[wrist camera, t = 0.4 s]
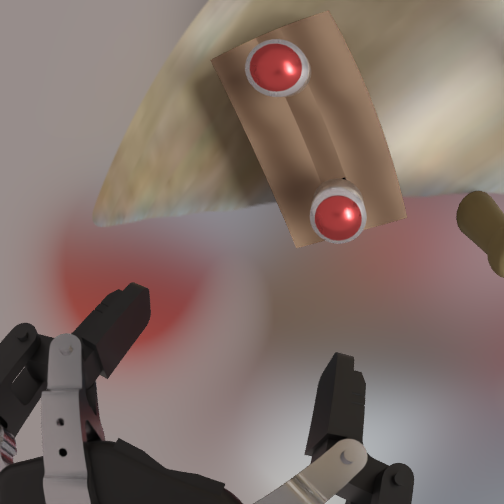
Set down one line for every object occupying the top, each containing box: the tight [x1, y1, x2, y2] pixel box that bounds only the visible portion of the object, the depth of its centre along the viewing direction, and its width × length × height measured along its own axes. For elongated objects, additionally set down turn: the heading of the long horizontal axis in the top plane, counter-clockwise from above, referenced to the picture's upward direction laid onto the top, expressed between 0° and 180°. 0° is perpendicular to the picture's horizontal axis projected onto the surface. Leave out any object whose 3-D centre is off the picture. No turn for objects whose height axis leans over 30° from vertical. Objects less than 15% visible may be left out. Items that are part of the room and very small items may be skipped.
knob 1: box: [245, 39, 311, 97], centre depth 20 cm, size 4×4×7 cm
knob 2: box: [310, 178, 367, 243], centre depth 25 cm, size 4×4×7 cm
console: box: [211, 11, 407, 248], centre depth 27 cm, size 12×21×5 cm, turn 25°
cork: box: [457, 191, 504, 278], centre depth 24 cm, size 6×6×11 cm
